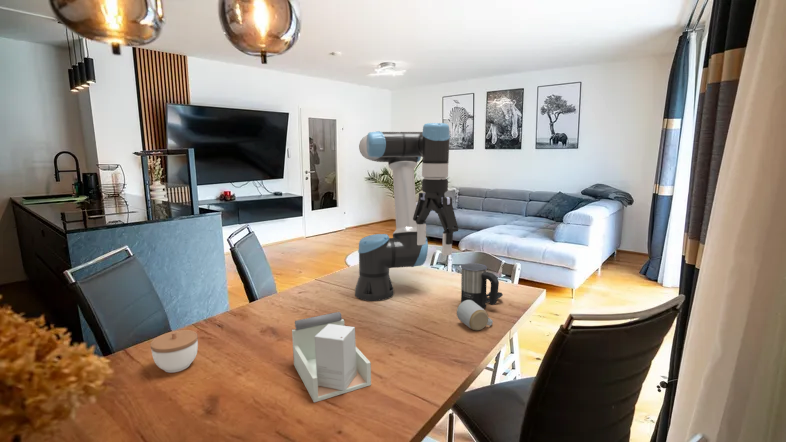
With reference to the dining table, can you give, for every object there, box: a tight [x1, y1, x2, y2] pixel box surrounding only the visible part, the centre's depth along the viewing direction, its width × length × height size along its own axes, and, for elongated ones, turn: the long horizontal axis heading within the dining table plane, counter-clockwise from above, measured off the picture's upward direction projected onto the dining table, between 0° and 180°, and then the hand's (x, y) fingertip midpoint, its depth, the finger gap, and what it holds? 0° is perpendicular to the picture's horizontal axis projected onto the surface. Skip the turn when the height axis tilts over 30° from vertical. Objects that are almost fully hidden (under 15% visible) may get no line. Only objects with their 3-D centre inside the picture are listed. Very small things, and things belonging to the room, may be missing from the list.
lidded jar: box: [149, 329, 199, 374], centre depth 101 cm, size 11×11×9 cm
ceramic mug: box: [456, 300, 494, 331], centre depth 125 cm, size 11×8×8 cm
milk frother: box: [459, 262, 503, 310], centre depth 142 cm, size 14×16×15 cm
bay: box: [291, 311, 372, 403], centre depth 97 cm, size 19×14×12 cm
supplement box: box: [315, 324, 357, 391], centre depth 93 cm, size 7×7×13 cm
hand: (433, 249), depth 117 cm, fingers open, 13 cm apart
